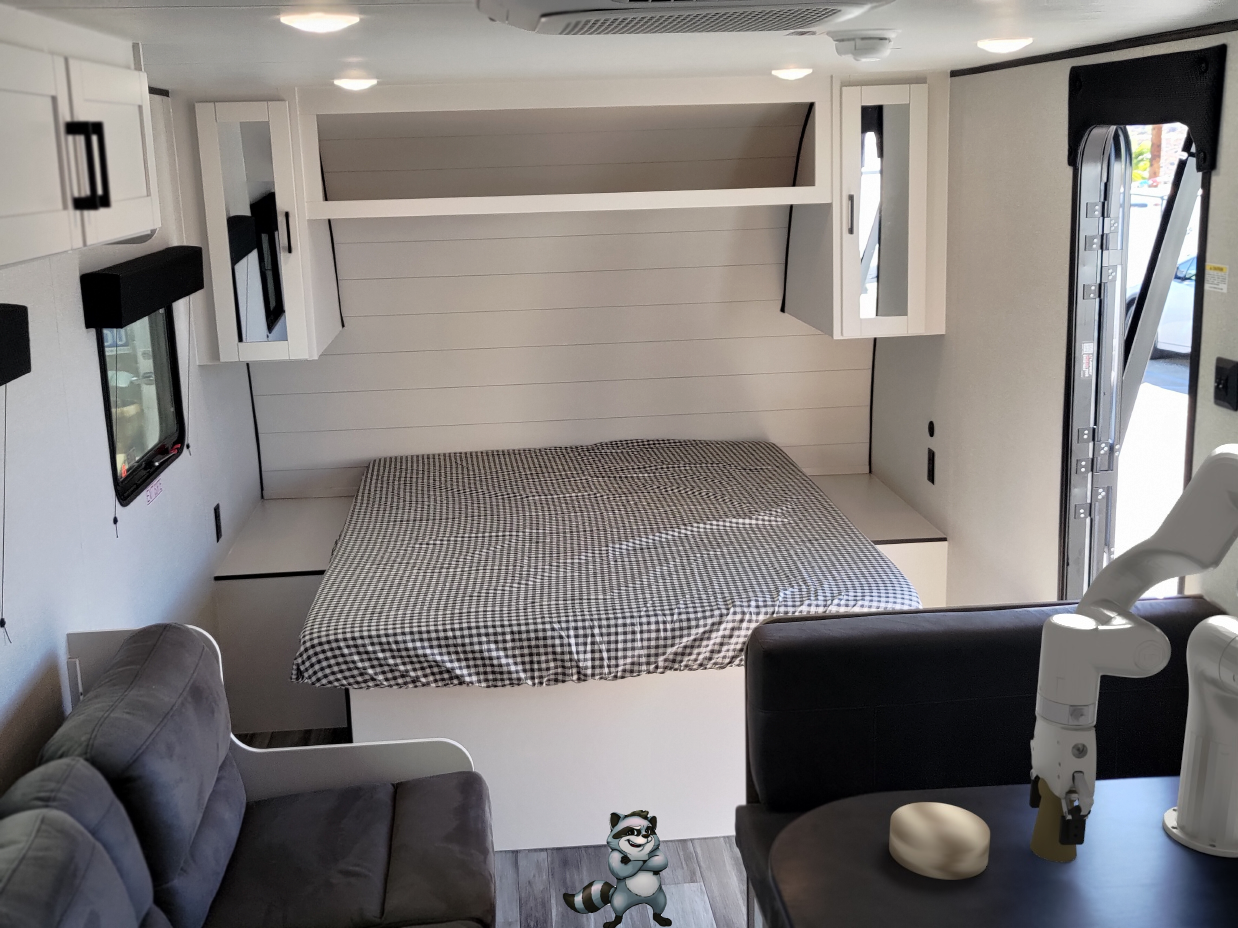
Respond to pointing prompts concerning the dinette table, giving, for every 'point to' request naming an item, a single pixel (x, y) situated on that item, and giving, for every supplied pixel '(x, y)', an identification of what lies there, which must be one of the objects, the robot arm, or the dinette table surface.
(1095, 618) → the robot arm
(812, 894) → the dinette table surface
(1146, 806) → the dinette table surface
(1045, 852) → the olive pawn
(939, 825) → the disc
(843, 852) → the dinette table surface
